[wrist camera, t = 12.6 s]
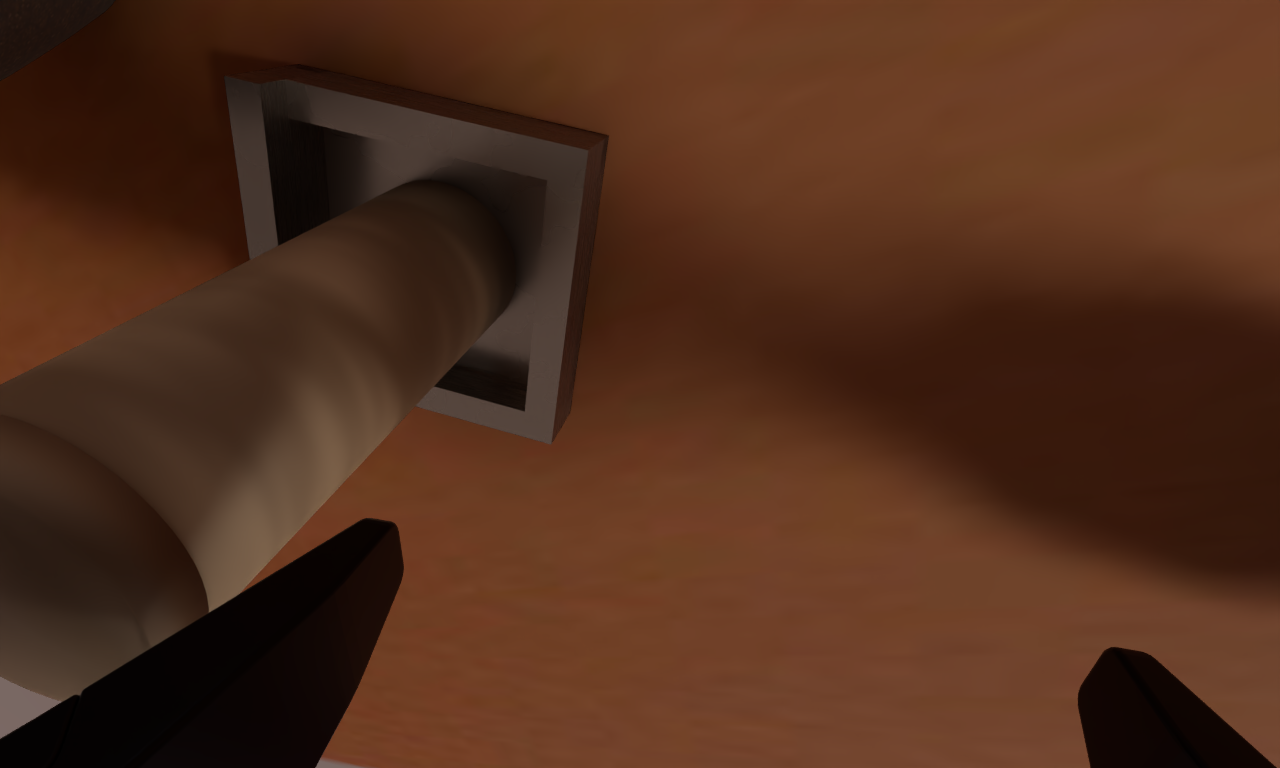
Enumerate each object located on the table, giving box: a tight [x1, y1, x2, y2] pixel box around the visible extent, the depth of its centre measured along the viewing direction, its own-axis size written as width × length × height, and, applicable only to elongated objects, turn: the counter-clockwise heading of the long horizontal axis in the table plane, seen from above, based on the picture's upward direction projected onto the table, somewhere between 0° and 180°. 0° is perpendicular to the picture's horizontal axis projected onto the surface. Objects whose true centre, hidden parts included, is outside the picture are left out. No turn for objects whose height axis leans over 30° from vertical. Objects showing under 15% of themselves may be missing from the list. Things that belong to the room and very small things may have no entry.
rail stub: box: [0, 180, 516, 702], centre depth 16 cm, size 5×5×14 cm
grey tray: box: [224, 64, 609, 444], centre depth 21 cm, size 10×10×3 cm
